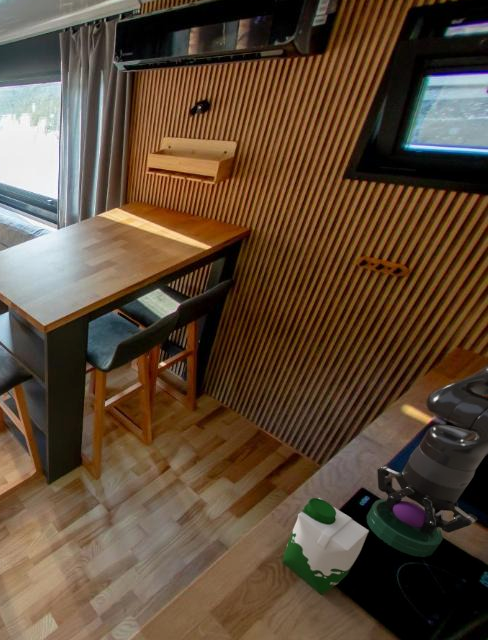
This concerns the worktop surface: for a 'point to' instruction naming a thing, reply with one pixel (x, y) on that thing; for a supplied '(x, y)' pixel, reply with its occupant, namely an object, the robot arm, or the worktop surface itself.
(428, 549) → the bowl
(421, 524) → the ball
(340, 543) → the milk carton
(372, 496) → the worktop surface
